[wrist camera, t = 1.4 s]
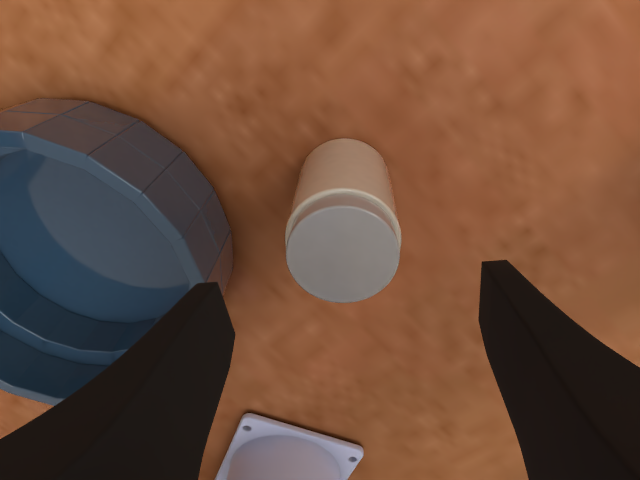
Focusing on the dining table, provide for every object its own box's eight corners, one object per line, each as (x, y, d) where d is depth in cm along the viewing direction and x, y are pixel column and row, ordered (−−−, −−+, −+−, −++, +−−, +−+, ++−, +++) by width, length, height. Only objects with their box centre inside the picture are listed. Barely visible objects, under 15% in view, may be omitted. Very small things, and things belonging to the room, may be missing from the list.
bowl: (200, 364, 27) (171, 440, 22) (-36, 292, 25) (-118, 358, 20) (269, 162, 20) (247, 212, 16) (-41, 46, 19) (-160, 66, 14)
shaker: (367, 233, 22) (374, 321, 16) (287, 203, 21) (265, 285, 16) (404, 157, 20) (427, 228, 14) (318, 123, 19) (305, 182, 14)
